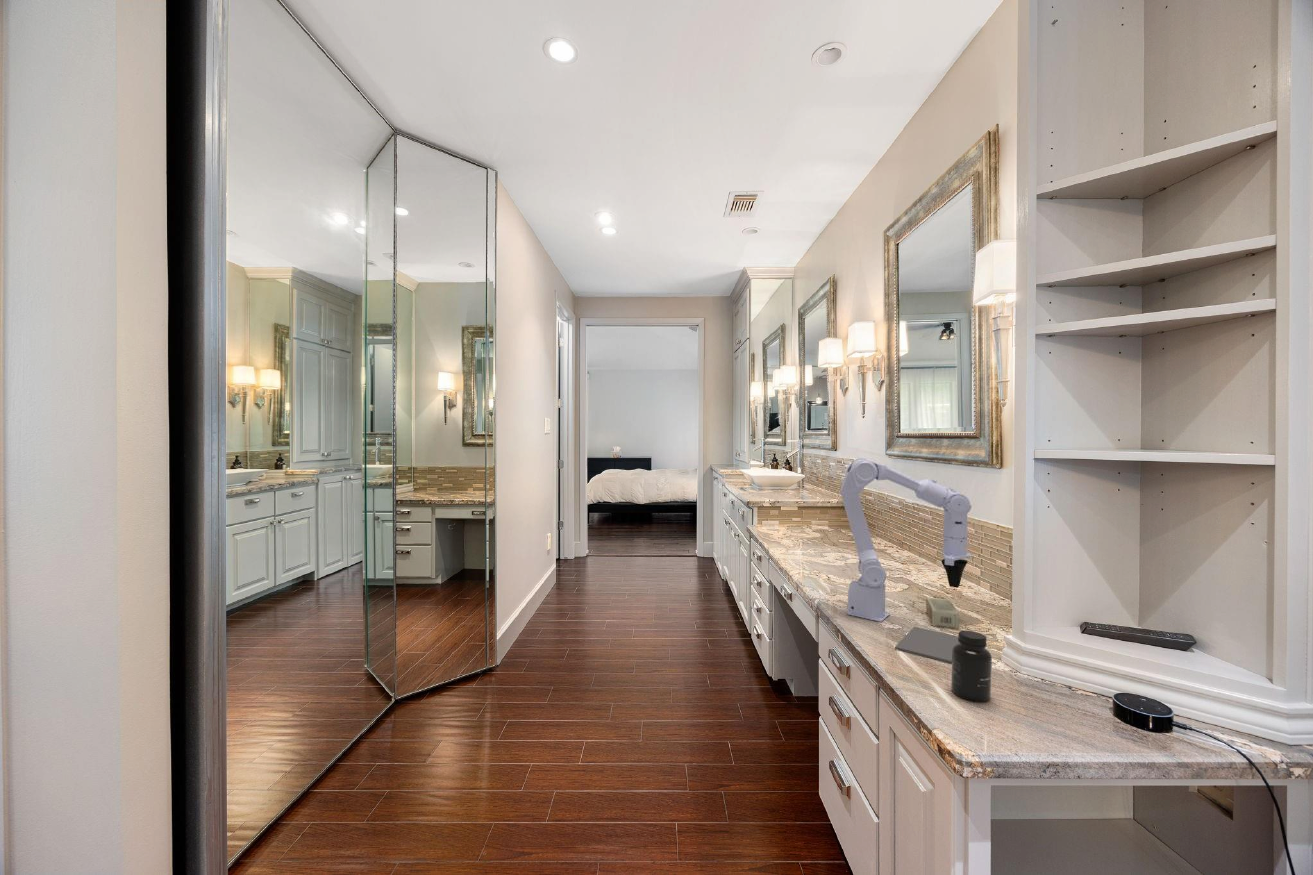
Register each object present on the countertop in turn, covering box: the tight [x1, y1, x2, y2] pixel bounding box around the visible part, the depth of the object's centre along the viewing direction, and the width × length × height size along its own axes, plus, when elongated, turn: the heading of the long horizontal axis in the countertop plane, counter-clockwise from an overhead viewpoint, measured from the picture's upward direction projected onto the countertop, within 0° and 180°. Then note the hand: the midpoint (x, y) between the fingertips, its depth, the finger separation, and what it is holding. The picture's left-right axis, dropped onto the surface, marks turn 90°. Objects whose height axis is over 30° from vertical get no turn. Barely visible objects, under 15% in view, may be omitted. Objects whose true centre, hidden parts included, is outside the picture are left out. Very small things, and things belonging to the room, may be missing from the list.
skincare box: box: [925, 596, 960, 630], centre depth 149 cm, size 6×4×12 cm
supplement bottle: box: [950, 630, 993, 703], centre depth 108 cm, size 7×7×12 cm
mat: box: [894, 626, 959, 665], centre depth 131 cm, size 14×17×1 cm
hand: (954, 586), depth 147 cm, fingers closed
